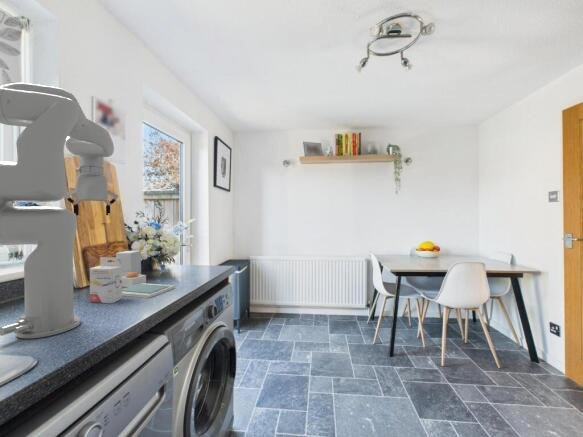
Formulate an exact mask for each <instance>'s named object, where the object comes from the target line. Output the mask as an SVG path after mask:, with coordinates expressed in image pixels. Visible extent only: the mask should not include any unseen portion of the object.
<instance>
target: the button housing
mask: <svg viewBox="0 0 583 437" xmlns="http://www.w3.org/2000/svg"><path fill="white" fill-rule="evenodd" d="M141 283H147V275H146V274H141V275H138V277H134V278H127V276H123V277H122V288H128V287H131V286H134V285H138V284H141Z"/></svg>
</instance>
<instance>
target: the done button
mask: <svg viewBox="0 0 583 437" xmlns="http://www.w3.org/2000/svg"><path fill="white" fill-rule="evenodd" d="M134 277H138V272H129V273H127V278H134Z"/></svg>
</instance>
